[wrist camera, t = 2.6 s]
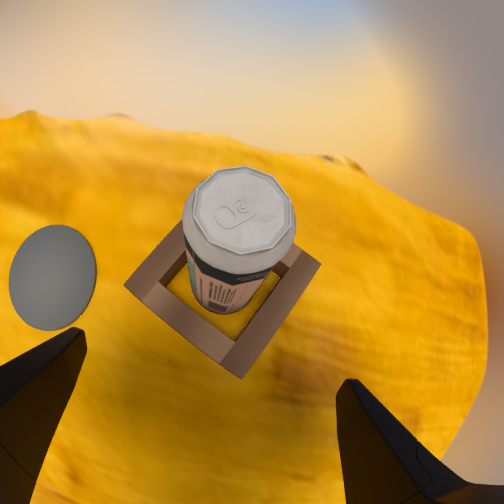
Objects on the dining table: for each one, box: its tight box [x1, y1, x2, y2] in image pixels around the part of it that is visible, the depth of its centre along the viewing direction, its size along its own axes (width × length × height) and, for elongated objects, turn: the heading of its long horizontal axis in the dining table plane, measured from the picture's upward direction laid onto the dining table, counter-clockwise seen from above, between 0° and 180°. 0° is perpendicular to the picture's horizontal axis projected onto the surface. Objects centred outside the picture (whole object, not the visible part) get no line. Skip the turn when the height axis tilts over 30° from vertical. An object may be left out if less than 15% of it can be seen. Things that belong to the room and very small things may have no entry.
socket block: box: [124, 220, 321, 379], centre depth 21 cm, size 10×10×2 cm
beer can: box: [182, 165, 296, 314], centre depth 17 cm, size 5×5×12 cm
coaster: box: [9, 225, 96, 331], centre depth 20 cm, size 9×9×1 cm
